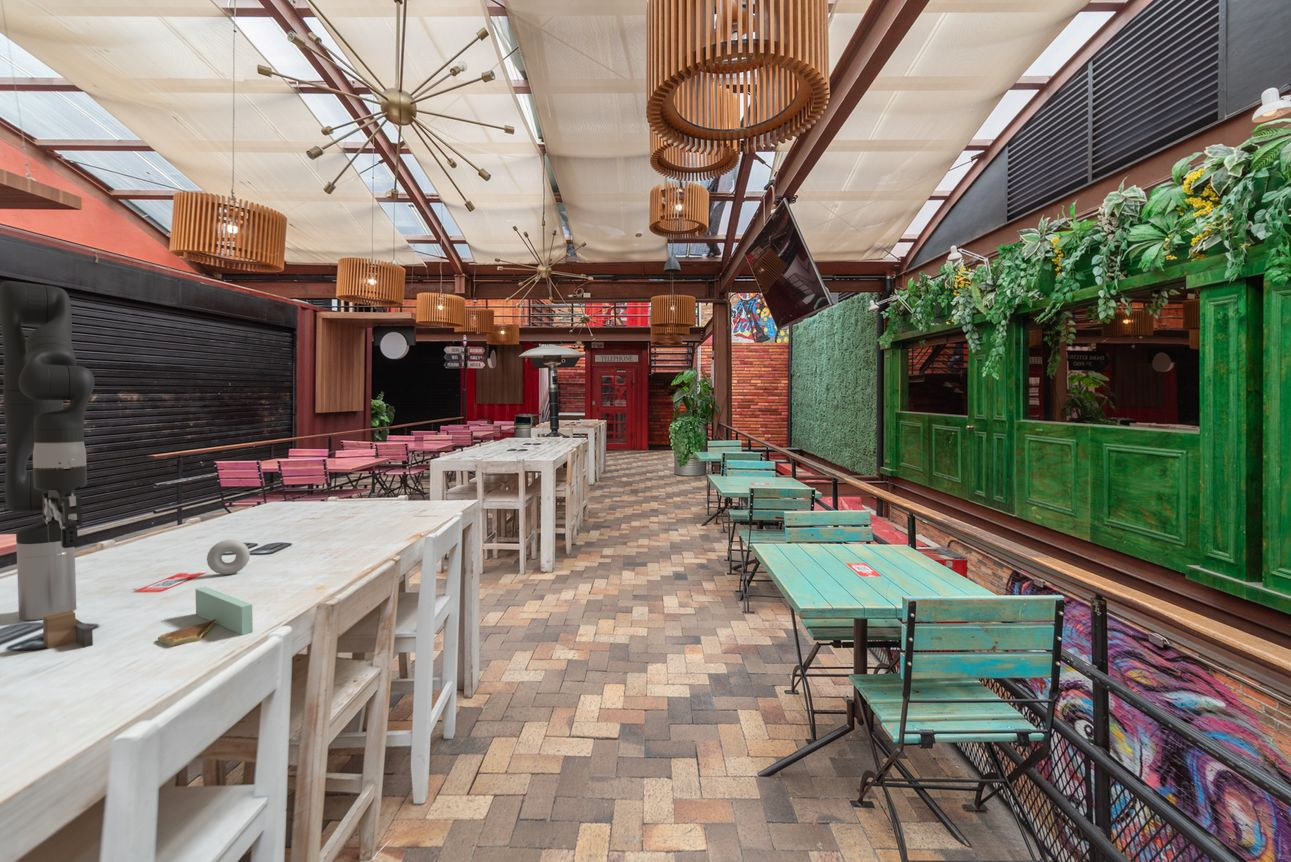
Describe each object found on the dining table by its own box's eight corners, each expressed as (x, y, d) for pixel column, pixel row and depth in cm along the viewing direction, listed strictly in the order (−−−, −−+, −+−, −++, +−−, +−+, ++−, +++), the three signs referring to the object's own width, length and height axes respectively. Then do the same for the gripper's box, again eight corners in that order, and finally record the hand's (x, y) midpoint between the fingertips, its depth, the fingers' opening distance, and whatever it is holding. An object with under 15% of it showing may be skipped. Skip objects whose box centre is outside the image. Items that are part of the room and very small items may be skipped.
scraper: (36, 640, 118) (35, 611, 118) (70, 631, 122) (70, 604, 122) (56, 654, 111) (55, 624, 111) (92, 645, 116) (91, 616, 116)
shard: (215, 625, 128) (215, 617, 128) (234, 632, 124) (234, 623, 124) (156, 643, 118) (156, 634, 118) (175, 650, 115) (175, 641, 115)
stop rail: (196, 614, 133) (195, 588, 133) (206, 611, 135) (205, 586, 135) (242, 635, 122) (241, 607, 121) (252, 631, 123) (252, 604, 123)
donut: (250, 570, 169) (249, 536, 169) (250, 573, 166) (249, 538, 166) (207, 575, 163) (206, 540, 163) (206, 578, 160) (206, 543, 160)
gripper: (23, 463, 116) (25, 543, 117) (44, 468, 109) (47, 553, 109) (74, 461, 123) (76, 536, 123) (97, 465, 115) (100, 545, 116)
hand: (62, 544), depth 116 cm, fingers open, 8 cm apart
